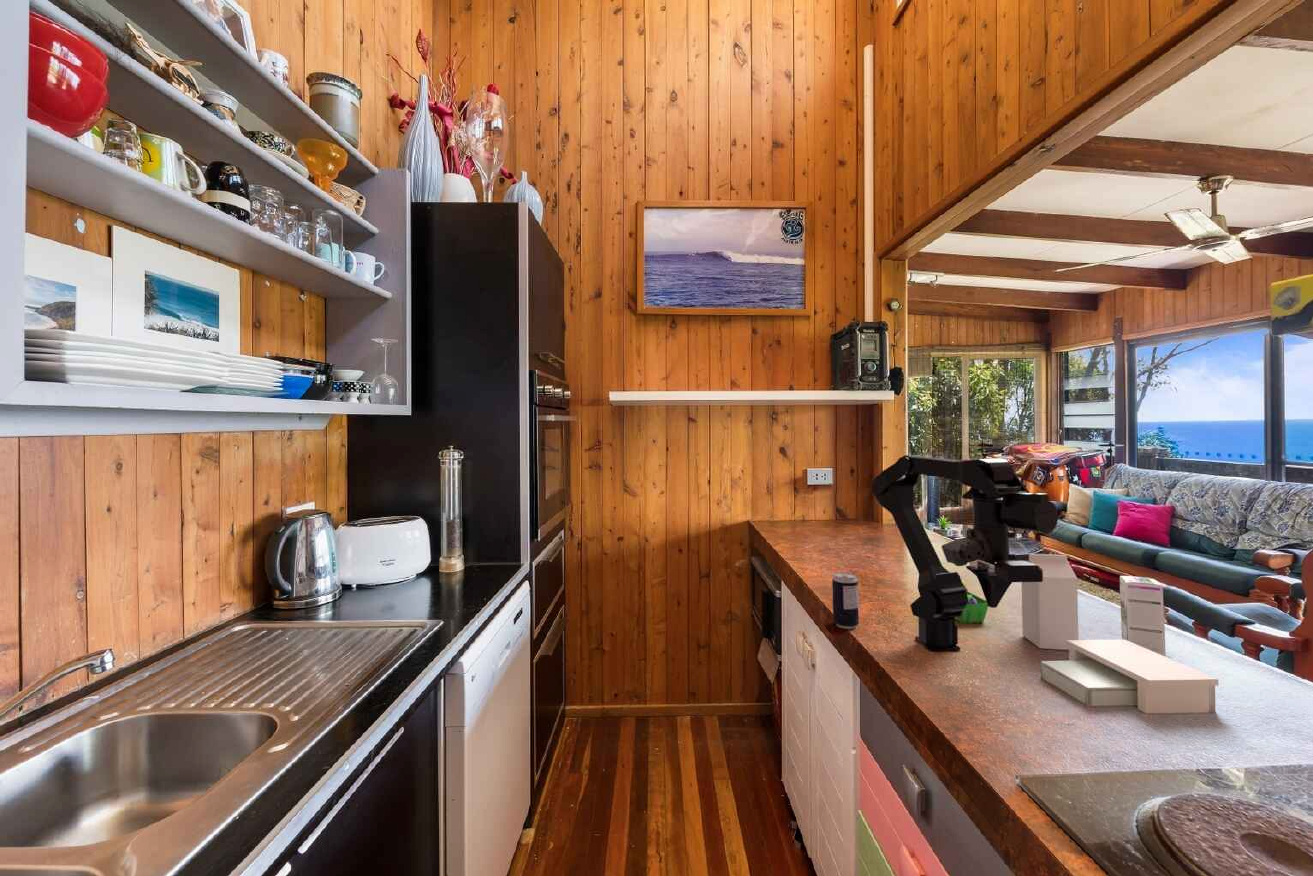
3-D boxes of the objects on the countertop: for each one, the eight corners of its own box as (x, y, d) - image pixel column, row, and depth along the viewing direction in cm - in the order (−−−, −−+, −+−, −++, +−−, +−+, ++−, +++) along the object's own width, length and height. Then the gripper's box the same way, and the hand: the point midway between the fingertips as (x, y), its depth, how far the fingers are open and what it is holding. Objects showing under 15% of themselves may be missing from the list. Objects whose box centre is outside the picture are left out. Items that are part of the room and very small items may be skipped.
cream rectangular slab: (1088, 706, 83) (1087, 687, 83) (1041, 677, 93) (1041, 661, 93) (1185, 704, 83) (1184, 686, 83) (1127, 675, 93) (1127, 659, 93)
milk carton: (1078, 651, 104) (1077, 558, 104) (1039, 649, 105) (1037, 557, 105) (1058, 638, 111) (1057, 551, 111) (1022, 636, 112) (1020, 550, 112)
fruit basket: (992, 624, 119) (991, 576, 119) (954, 625, 119) (953, 577, 119) (963, 608, 130) (963, 565, 131) (929, 609, 131) (928, 565, 131)
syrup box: (1166, 658, 100) (1165, 585, 100) (1126, 652, 103) (1125, 581, 103) (1157, 648, 105) (1156, 578, 105) (1119, 642, 108) (1118, 574, 108)
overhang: (1149, 715, 80) (1148, 680, 80) (1067, 669, 96) (1066, 640, 96) (1219, 714, 80) (1218, 679, 80) (1125, 668, 96) (1124, 639, 96)
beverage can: (858, 622, 122) (857, 572, 122) (859, 631, 116) (858, 579, 116) (833, 620, 123) (832, 571, 124) (833, 628, 118) (832, 577, 118)
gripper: (922, 518, 105) (923, 593, 105) (979, 534, 87) (981, 625, 87) (975, 517, 105) (977, 592, 105) (1044, 533, 87) (1046, 624, 87)
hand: (992, 607), depth 96 cm, fingers closed
